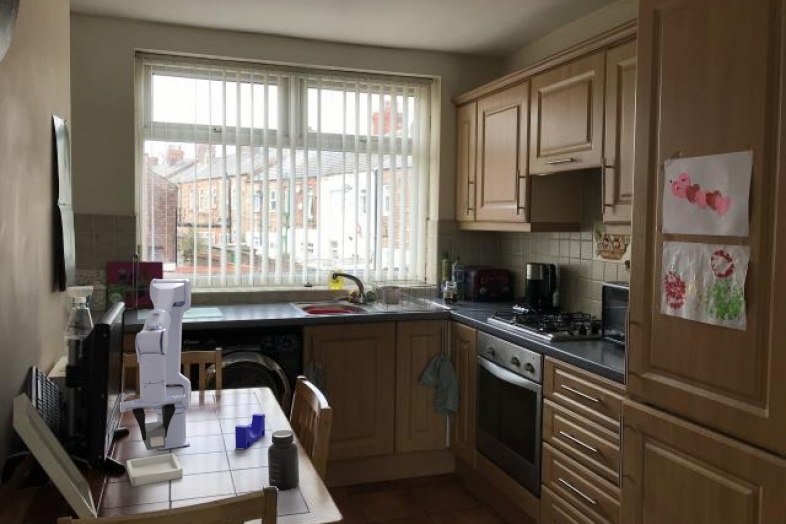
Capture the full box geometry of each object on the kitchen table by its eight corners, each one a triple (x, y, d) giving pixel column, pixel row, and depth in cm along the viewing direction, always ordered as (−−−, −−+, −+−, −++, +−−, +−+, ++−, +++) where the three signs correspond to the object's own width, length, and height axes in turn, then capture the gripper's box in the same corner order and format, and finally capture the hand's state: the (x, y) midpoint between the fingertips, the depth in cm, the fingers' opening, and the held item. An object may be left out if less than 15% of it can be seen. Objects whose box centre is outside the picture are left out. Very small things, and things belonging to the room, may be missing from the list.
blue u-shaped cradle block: (249, 434, 185) (249, 413, 185) (264, 435, 184) (264, 414, 184) (230, 448, 174) (229, 426, 173) (246, 450, 173) (245, 427, 172)
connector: (143, 441, 159) (142, 423, 158) (160, 439, 161) (160, 421, 160) (148, 453, 150) (148, 434, 150) (166, 450, 152) (166, 432, 152)
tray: (126, 468, 159) (126, 460, 159) (174, 460, 164) (174, 452, 164) (132, 486, 149) (131, 477, 149) (182, 477, 154) (182, 469, 154)
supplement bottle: (285, 476, 154) (284, 426, 153) (305, 484, 150) (304, 432, 149) (262, 486, 149) (261, 433, 148) (282, 494, 144) (281, 440, 144)
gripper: (121, 388, 148) (122, 447, 149) (187, 381, 155) (189, 438, 156) (118, 381, 155) (119, 438, 155) (182, 374, 161) (183, 429, 162)
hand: (154, 437), depth 156 cm, fingers closed on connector, 4 cm apart
